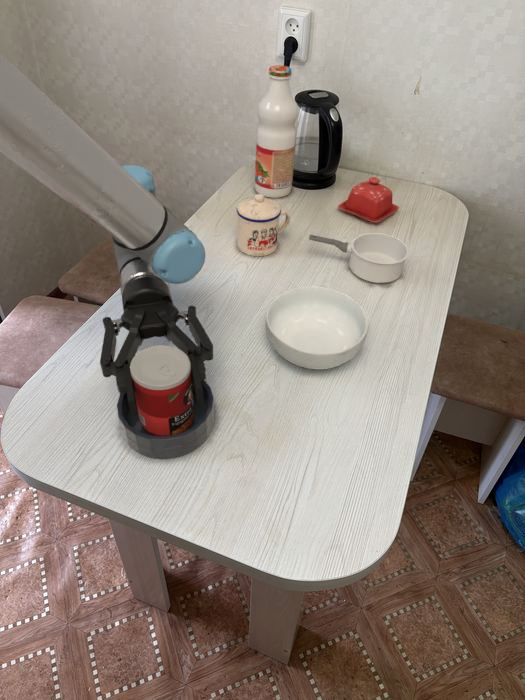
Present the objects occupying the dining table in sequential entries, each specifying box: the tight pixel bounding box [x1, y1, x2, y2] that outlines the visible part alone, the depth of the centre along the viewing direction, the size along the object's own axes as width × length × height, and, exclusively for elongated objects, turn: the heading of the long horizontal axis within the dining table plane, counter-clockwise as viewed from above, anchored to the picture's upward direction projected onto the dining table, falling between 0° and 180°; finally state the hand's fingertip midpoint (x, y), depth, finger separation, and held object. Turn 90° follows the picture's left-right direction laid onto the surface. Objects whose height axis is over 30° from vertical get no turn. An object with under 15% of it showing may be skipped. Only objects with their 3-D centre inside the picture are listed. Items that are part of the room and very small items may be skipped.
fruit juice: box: [254, 64, 299, 199], centre depth 119 cm, size 9×9×28 cm
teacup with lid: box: [235, 193, 291, 257], centre depth 105 cm, size 12×9×12 cm
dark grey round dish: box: [116, 379, 215, 460], centre depth 72 cm, size 13×13×4 cm
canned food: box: [130, 344, 194, 436], centre depth 69 cm, size 8×8×11 cm
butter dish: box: [337, 176, 400, 224], centre depth 119 cm, size 12×12×8 cm
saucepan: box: [308, 232, 410, 284], centre depth 103 cm, size 12×20×6 cm, turn 76°
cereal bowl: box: [264, 285, 369, 370], centre depth 84 cm, size 17×17×7 cm
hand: (166, 401), depth 64 cm, fingers closed on canned food, 8 cm apart
